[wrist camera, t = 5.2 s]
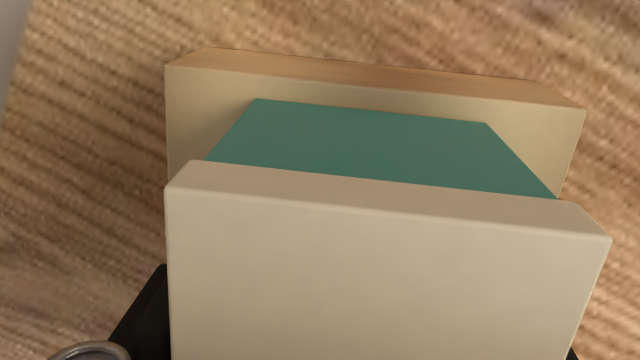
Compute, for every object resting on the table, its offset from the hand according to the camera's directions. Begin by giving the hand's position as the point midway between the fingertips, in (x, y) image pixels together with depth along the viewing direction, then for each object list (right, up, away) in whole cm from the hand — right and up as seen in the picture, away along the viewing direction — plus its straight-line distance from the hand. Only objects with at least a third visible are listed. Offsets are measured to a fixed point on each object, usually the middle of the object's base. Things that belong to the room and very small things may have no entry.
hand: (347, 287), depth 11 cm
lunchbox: (0, 0, +1) cm, 1 cm away
